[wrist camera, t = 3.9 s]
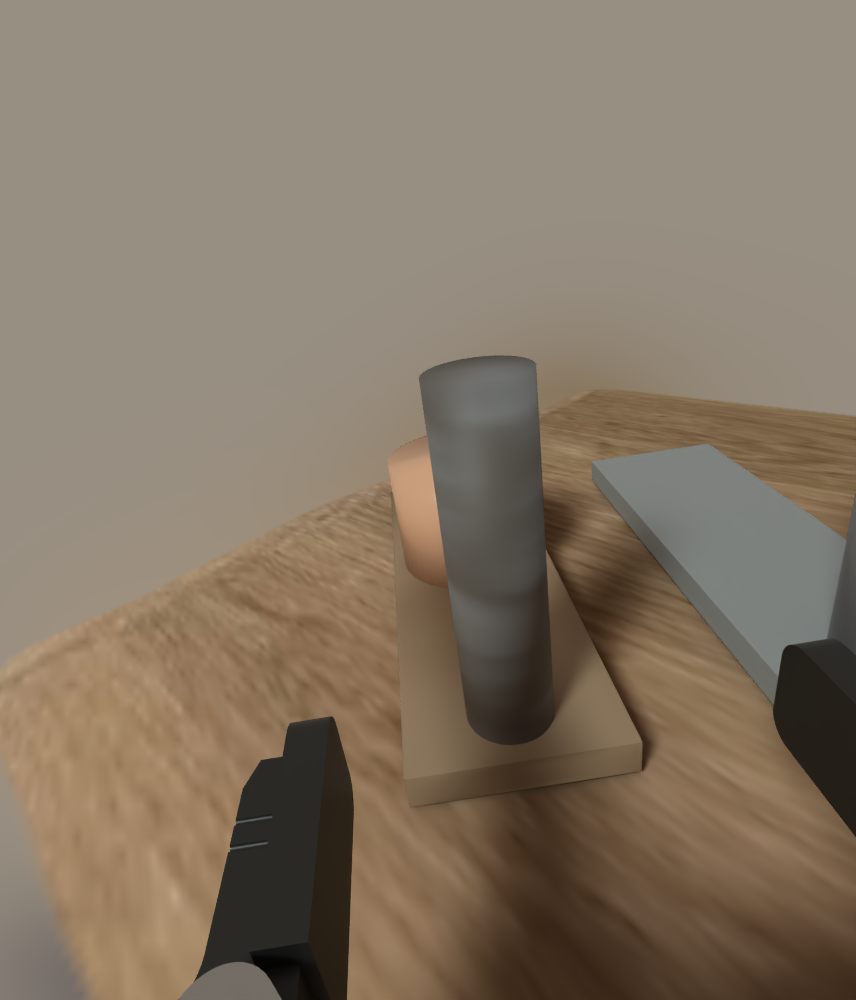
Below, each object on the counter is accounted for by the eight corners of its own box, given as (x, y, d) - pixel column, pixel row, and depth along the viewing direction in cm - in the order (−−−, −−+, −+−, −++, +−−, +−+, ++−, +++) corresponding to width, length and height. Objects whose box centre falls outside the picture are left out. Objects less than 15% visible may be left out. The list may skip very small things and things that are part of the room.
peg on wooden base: (509, 492, 36) (492, 278, 31) (641, 770, 18) (655, 368, 13) (394, 510, 36) (357, 298, 31) (410, 807, 18) (325, 417, 13)
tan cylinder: (517, 513, 31) (510, 421, 29) (547, 576, 25) (541, 469, 23) (402, 531, 31) (387, 440, 29) (407, 598, 25) (388, 492, 23)
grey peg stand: (706, 462, 36) (723, 243, 31) (1034, 709, 18) (1211, 283, 13) (592, 480, 36) (588, 264, 31) (806, 745, 18) (888, 332, 13)
